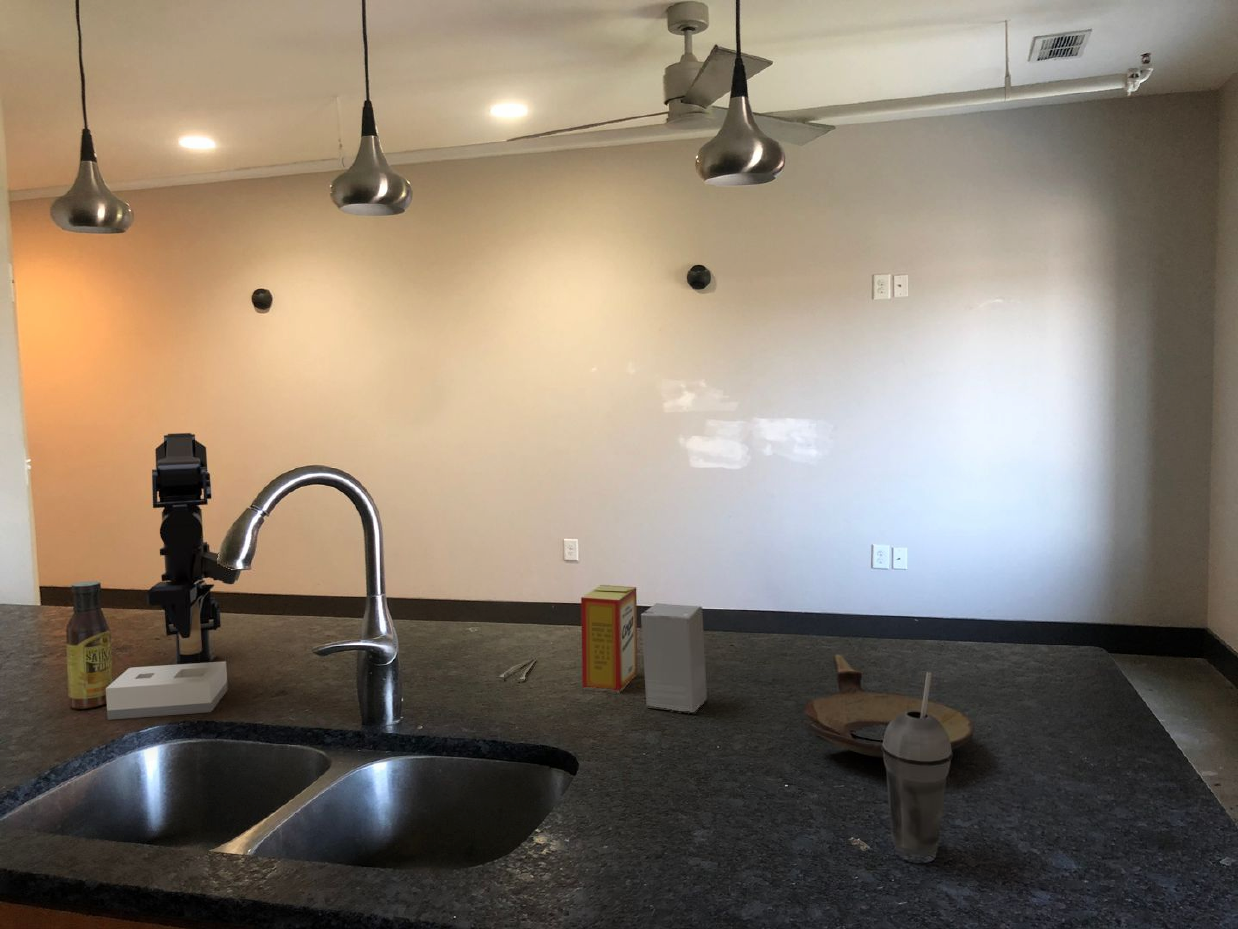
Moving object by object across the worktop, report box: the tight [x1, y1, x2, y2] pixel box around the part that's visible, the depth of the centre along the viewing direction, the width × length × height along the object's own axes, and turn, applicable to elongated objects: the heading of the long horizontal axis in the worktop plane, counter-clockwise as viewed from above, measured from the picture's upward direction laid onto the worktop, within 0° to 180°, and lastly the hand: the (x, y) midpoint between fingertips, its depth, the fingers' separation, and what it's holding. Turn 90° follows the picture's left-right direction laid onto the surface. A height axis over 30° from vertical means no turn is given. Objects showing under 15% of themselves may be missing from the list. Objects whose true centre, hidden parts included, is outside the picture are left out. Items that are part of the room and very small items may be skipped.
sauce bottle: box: [65, 580, 114, 710], centre depth 141 cm, size 7×6×20 cm
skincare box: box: [640, 603, 708, 713], centre depth 137 cm, size 8×7×16 cm
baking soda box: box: [580, 584, 638, 691], centre depth 149 cm, size 10×6×16 cm
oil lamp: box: [804, 653, 975, 758], centre depth 124 cm, size 22×30×8 cm
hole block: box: [106, 661, 229, 721], centre depth 141 cm, size 10×15×5 cm, turn 100°
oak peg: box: [179, 601, 202, 655], centre depth 141 cm, size 3×3×8 cm
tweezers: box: [498, 659, 537, 681], centre depth 158 cm, size 17×5×2 cm, turn 165°
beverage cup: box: [881, 671, 953, 856], centre depth 94 cm, size 7×7×20 cm
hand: (189, 634), depth 141 cm, fingers closed on oak peg, 3 cm apart
